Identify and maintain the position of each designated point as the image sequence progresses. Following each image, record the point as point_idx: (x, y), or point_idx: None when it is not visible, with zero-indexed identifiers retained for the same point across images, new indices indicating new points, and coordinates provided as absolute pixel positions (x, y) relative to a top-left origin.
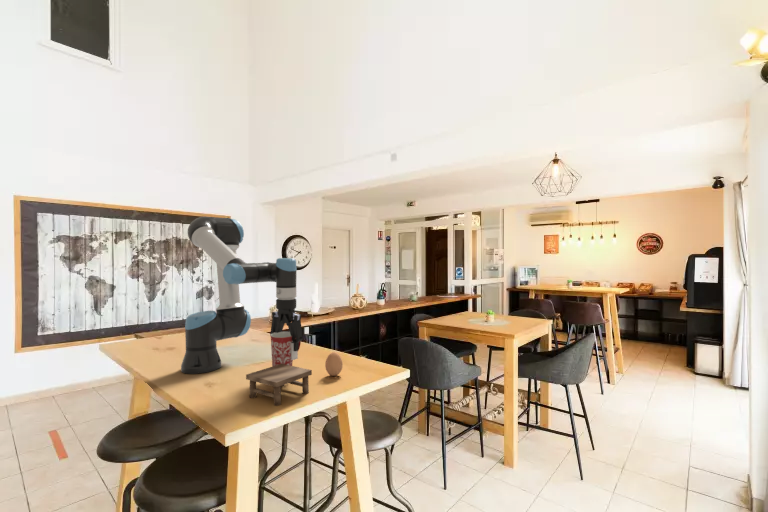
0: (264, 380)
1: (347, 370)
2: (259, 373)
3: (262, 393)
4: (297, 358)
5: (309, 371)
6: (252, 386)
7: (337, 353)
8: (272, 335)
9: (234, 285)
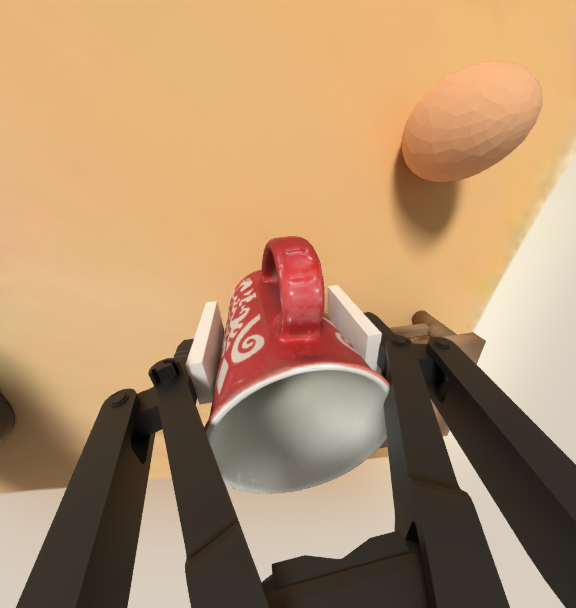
0: None
1: (440, 6)
2: None
3: None
4: (337, 286)
5: (481, 348)
6: None
7: (541, 94)
8: (233, 468)
9: None
